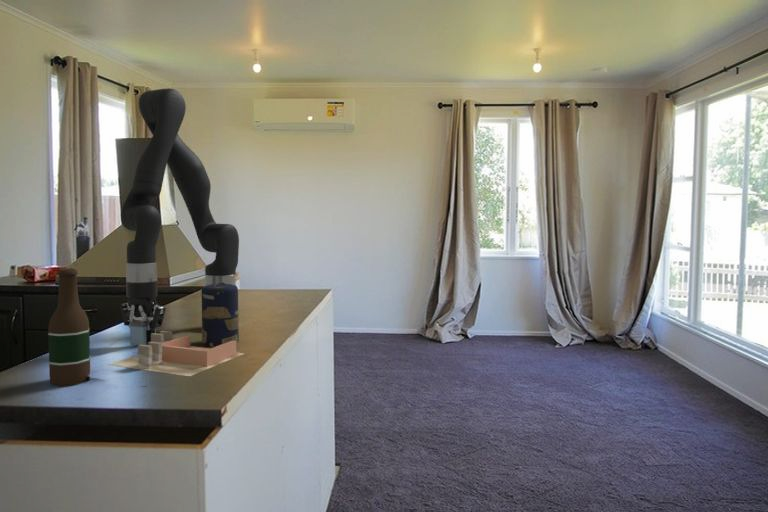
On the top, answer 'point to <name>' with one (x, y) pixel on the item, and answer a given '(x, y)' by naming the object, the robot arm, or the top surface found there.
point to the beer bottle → (68, 335)
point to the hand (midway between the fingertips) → (143, 342)
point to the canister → (219, 314)
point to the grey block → (138, 333)
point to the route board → (152, 358)
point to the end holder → (196, 352)
